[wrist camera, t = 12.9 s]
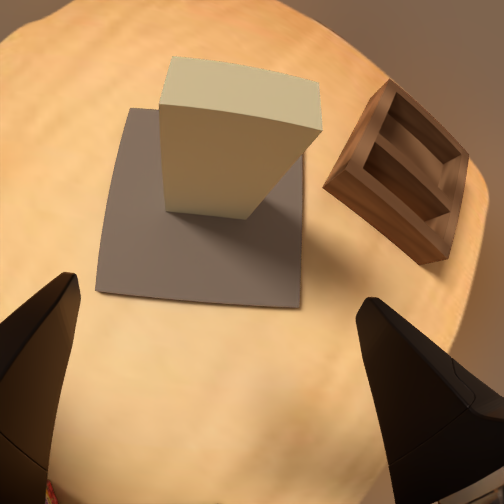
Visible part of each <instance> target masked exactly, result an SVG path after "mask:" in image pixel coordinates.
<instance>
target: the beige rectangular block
mask: <svg viewBox="0 0 504 504" xmlns="http://www.w3.org/2000/svg"><path fill="white" fill-rule="evenodd" d="M159 125H160V146H161V163H162V177H163V190H164V201H165V211H167V212H177V213H187V214H197V215H207V216H216V217H225V218H234V219H243V220H246V219H247V218H248V217H249V216H250V215H251V214H252V212H253V211H254V210H255V209H256V208H257V206H258V205H259V204H260V203H261V202H262V200H263V199H264V198H265V197H266V196H267V195H268V193H269V192H270V191H271V190H272V189H273V187H274V186H275V185H276V184H277V183H278V182H279V180H280V179H281V178H282V177H283V176H284V175H285V173H286V172H287V171H288V170H289V169H290V168H291V166H292V165H293V164H294V163H295V162H296V161H297V160H298V158H299V157H300V156H301V155H302V154H303V153H304V151H305V150H306V149H307V148H308V147H309V146H310V145H311V143H312V142H313V141H314V140H315V139H316V138H317V137H318V135H319V134H320V133H321V132H322V131H323V128H322V113H321V100H320V88H319V83H318V82H315V81H311V80H307V79H304V78H300V77H296V76H292V75H288V74H283V73H279V72H275V71H270V70H265V69H260V68H255V67H250V66H245V65H239V64H233V63H227V62H220V61H213V60H205V59H197V58H187V57H177V56H172V59H171V62H170V65H169V69H168V72H167V75H166V79H165V83H164V86H163V90H162V94H161V97H160V101H159Z"/></svg>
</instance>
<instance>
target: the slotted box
mask: <svg viewBox="0 0 504 504" xmlns="http://www.w3.org/2000/svg"><path fill="white" fill-rule="evenodd" d="M468 160H469V154H468V153H467V152H466V151H465V149H464V148H463V147H462V146H461V145H460V144H459V143H458V142H457V141H456V140H455V139H454V137H453V136H452V135H451V134H450V133H449V132H448V131H447V130H446V129H445V128H444V127H443V126H442V125H441V124H440V123H439V122H438V121H437V120H436V119H435V118H434V117H433V116H432V115H431V114H430V113H428V112H427V111H426V110H425V109H424V108H423V107H422V106H421V105H420V104H419V103H418V102H417V101H415V100H414V99H413V98H412V97H411V96H410V95H409V94H407V93H406V92H405V91H404V90H403V89H402V88H400V87H399V86H398V85H397V84H396V83H394V82H393V81H392V80H391V79H389V80H388V81H387V82H386V83H385V84H384V85H383V86H382V87H381V88H380V89H379V90H378V91H377V92H376V93H375V94H374V95H373V96H372V97H371V98H370V100H369V102H368V104H367V106H366V108H365V110H364V111H363V113H362V115H361V117H360V119H359V121H358V123H357V125H356V127H355V128H354V130H353V132H352V134H351V136H350V138H349V140H348V142H347V143H346V145H345V147H344V149H343V151H342V153H341V155H340V156H339V158H338V160H337V162H336V164H335V166H334V167H333V169H332V171H331V173H330V175H329V177H328V178H327V180H326V182H325V184H324V186H323V187H322V188H324V189H325V190H326V191H328V192H329V193H331V194H332V195H333V196H335V197H336V198H337V199H339V200H340V201H341V202H343V203H344V204H345V205H347V206H348V207H349V208H350V209H352V210H353V211H354V212H356V213H357V214H358V215H359V216H361V217H362V218H363V219H365V220H366V221H367V222H368V223H370V224H371V225H372V226H373V227H375V228H376V229H377V230H378V231H380V232H381V233H382V234H383V235H384V236H386V237H387V238H388V239H389V240H390V241H392V242H393V243H394V244H395V245H396V246H398V247H399V248H400V249H401V250H402V251H404V252H405V253H406V254H407V255H408V256H409V257H411V258H412V259H413V260H414V261H415V262H416V263H417V264H419V265H422V264H427V263H432V262H436V261H441V260H446V259H448V257H449V254H450V250H451V246H452V242H453V238H454V234H455V230H456V226H457V222H458V217H459V212H460V208H461V203H462V197H463V192H464V186H465V180H466V174H467V167H468Z"/></svg>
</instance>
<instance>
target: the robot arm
mask: <svg viewBox="0 0 504 504" xmlns="http://www.w3.org/2000/svg"><path fill="white" fill-rule="evenodd" d="M80 301H81V294H80V289H79V284H78V278H77V275H76V274H75V273H69V272H63V273H61V274H60V275H58V276H57V277H56V278H55V279H53V280H52V281H51V282H49V283H48V284H47V285H46V286H44V287H43V288H42V289H41V290H39V291H38V292H37V293H36V294H34V295H33V296H32V297H31V298H30V299H28V300H27V301H26V302H25V303H24V304H22V305H21V306H20V307H19V308H18V309H16V310H15V311H14V312H13V313H12V314H11V315H9V316H8V317H7V318H6V319H5V320H4V321H2V322H1V323H0V504H45V500H46V486H47V475H48V472H47V471H48V465H49V457H50V449H51V442H52V436H53V430H54V424H55V419H56V413H57V408H58V403H59V399H60V394H61V389H62V385H63V381H64V377H65V372H66V368H67V365H68V361H69V357H70V353H71V349H72V344H73V339H74V333H75V327H76V322H77V317H78V311H79V306H80ZM356 325H357V331H358V336H359V341H360V347H361V353H362V358H363V362H364V366H365V370H366V373H367V377H368V381H369V385H370V388H371V392H372V396H373V400H374V404H375V408H376V412H377V416H378V420H379V424H380V429H381V433H382V438H383V442H384V447H385V451H386V456H387V461H388V465H389V471H390V476H391V482H392V487H393V493H394V498H395V504H432V503H434V502H437V501H438V504H504V397H502V396H500V395H499V394H498V393H496V392H495V391H494V390H492V389H491V388H490V387H488V386H487V385H486V384H484V383H483V382H482V381H480V380H479V379H478V378H476V377H475V376H474V375H472V374H471V373H470V372H468V371H467V370H466V369H465V368H464V367H463V366H461V365H460V364H459V363H458V362H457V361H455V360H454V359H453V358H451V357H450V356H449V355H448V354H447V353H446V352H445V351H443V350H442V349H441V348H440V347H439V346H437V345H436V344H435V343H434V342H433V341H431V340H430V339H429V338H428V337H427V336H425V335H424V334H423V333H422V332H420V331H419V330H418V329H417V328H416V327H414V326H413V325H412V324H411V323H409V322H408V321H407V320H406V319H404V318H403V317H402V316H401V315H399V314H398V313H397V312H396V311H394V310H393V309H392V308H391V307H389V306H388V305H387V304H386V303H384V302H383V301H382V300H381V299H379V298H377V297H368V298H366V299H365V300H364V302H363V304H362V306H361V307H360V309H359V311H358V313H357V315H356Z"/></svg>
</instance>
